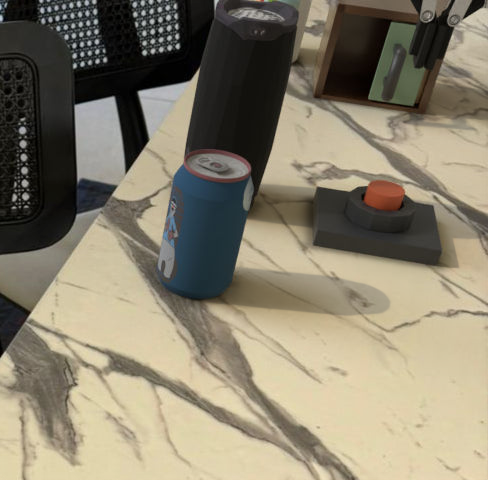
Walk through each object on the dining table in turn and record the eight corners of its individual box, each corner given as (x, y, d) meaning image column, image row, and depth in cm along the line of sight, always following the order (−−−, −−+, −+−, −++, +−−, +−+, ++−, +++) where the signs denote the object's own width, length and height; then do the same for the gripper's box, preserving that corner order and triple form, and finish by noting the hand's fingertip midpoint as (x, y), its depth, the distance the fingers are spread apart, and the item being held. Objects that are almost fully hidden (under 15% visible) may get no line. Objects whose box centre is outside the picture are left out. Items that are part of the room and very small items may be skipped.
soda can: (242, 286, 95) (273, 164, 87) (204, 315, 91) (232, 190, 83) (180, 259, 98) (204, 138, 90) (139, 285, 94) (161, 162, 86)
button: (398, 199, 103) (404, 183, 102) (400, 215, 101) (406, 199, 100) (362, 193, 104) (367, 177, 103) (363, 209, 101) (369, 193, 100)
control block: (426, 224, 108) (439, 188, 105) (434, 270, 100) (449, 233, 98) (311, 205, 109) (321, 169, 106) (311, 249, 102) (322, 213, 99)
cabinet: (417, 90, 137) (449, -5, 129) (423, 118, 129) (457, 19, 121) (312, 74, 138) (336, -21, 131) (311, 101, 131) (338, 3, 123)
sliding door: (412, 104, 129) (438, 27, 123) (416, 120, 125) (442, 41, 119) (368, 97, 130) (391, 20, 124) (369, 113, 126) (393, 34, 120)
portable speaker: (253, 187, 111) (300, -3, 98) (258, 228, 104) (309, 30, 91) (175, 177, 112) (211, -13, 99) (174, 217, 105) (213, 18, 92)
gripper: (408, -169, 81) (341, 65, 93) (605, -144, 79) (510, 92, 91) (403, -184, 86) (340, 39, 99) (587, -161, 85) (499, 64, 97)
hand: (422, 64), depth 95 cm, fingers closed
